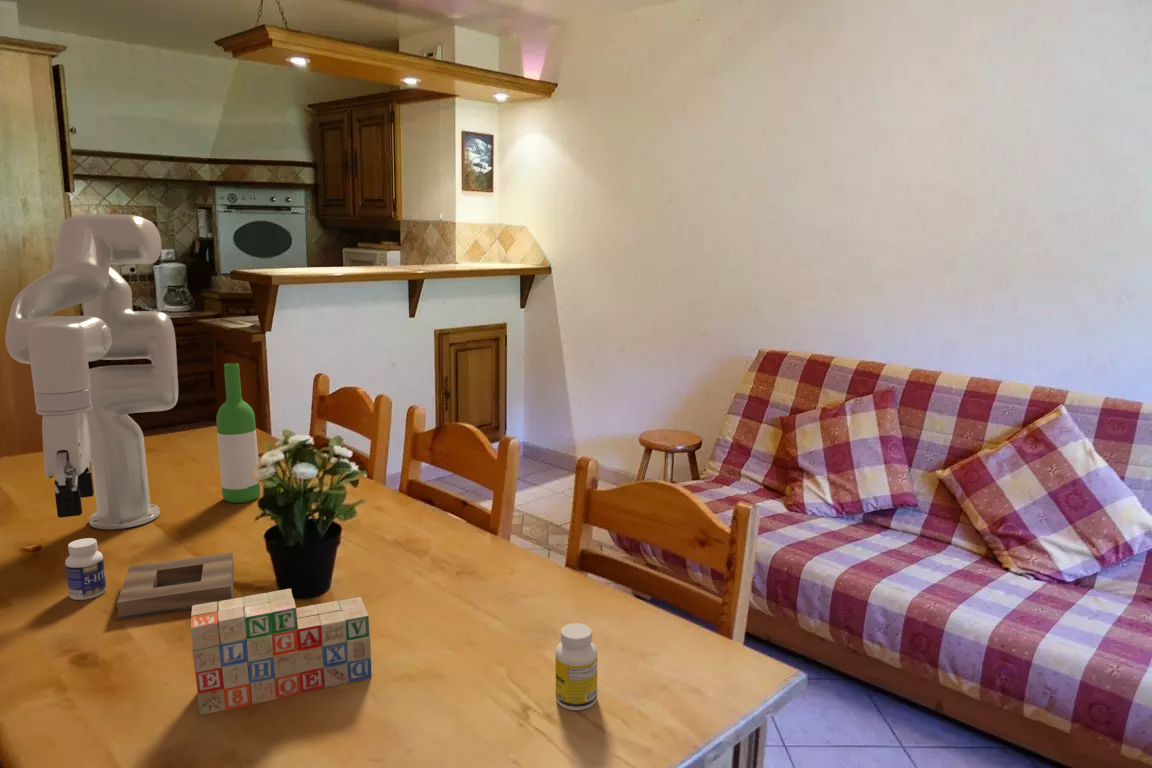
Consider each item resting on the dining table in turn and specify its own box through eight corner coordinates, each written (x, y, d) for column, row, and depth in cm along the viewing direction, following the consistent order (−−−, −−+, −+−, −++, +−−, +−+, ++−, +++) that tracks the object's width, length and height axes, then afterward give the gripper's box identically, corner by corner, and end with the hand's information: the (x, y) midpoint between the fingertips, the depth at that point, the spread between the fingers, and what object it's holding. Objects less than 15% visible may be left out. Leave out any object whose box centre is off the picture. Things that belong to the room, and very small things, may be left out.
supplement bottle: (554, 688, 107) (554, 620, 105) (594, 686, 107) (595, 619, 105) (556, 713, 101) (556, 642, 99) (599, 711, 102) (600, 640, 100)
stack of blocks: (364, 656, 114) (360, 575, 112) (372, 679, 109) (368, 595, 106) (199, 690, 106) (190, 603, 103) (198, 716, 100) (189, 626, 98)
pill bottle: (89, 602, 129) (83, 550, 127) (61, 599, 130) (54, 547, 128) (114, 587, 134) (108, 537, 132) (87, 584, 135) (81, 535, 133)
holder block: (131, 582, 136) (129, 565, 135) (233, 568, 142) (232, 552, 141) (118, 620, 123) (116, 602, 123) (232, 603, 129) (230, 586, 128)
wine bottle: (268, 496, 178) (258, 363, 172) (237, 506, 171) (226, 368, 165) (246, 490, 182) (236, 359, 176) (215, 499, 175) (203, 364, 169)
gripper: (49, 392, 132) (61, 493, 135) (21, 414, 116) (35, 527, 119) (101, 389, 134) (112, 487, 138) (81, 410, 119) (93, 520, 122)
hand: (76, 506), depth 128 cm, fingers open, 9 cm apart
